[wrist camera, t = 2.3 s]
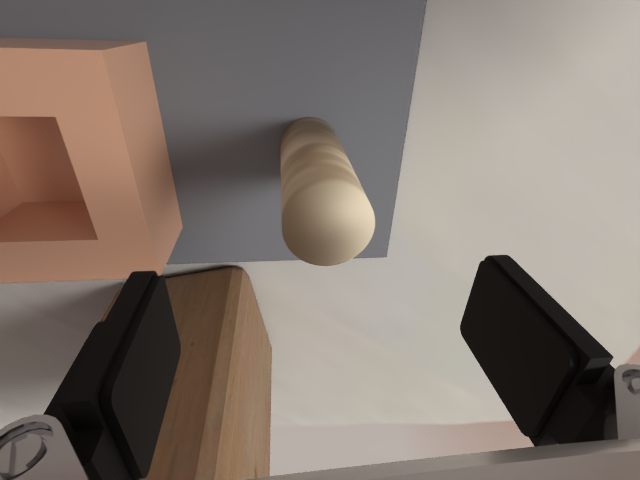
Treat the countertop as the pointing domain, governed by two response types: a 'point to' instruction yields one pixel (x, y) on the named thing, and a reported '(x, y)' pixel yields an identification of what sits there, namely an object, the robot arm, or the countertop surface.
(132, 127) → the terracotta box
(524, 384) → the robot arm
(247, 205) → the charcoal mat
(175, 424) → the wooden block
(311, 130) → the birch dowel
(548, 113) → the countertop surface
